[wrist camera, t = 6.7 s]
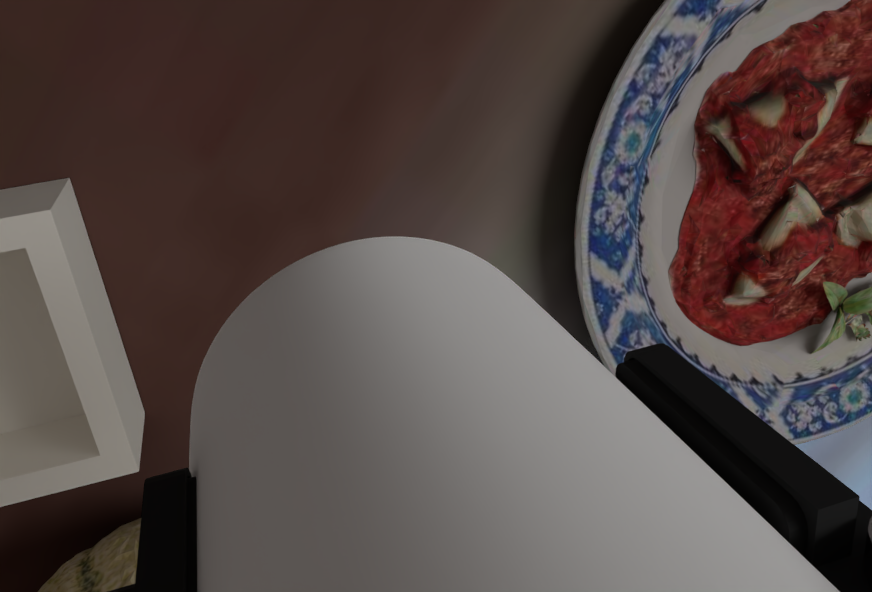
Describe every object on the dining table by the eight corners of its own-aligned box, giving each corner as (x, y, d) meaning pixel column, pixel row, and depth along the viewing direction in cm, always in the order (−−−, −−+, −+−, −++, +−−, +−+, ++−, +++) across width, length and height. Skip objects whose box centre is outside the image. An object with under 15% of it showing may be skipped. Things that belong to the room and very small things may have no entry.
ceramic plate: (526, -78, 28) (562, -83, 25) (1083, -168, 33) (1162, -180, 30) (574, 487, 39) (602, 525, 36) (987, 353, 44) (1039, 377, 41)
